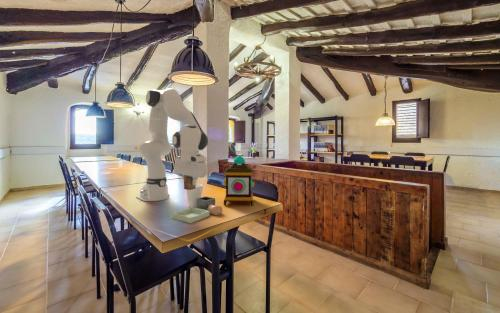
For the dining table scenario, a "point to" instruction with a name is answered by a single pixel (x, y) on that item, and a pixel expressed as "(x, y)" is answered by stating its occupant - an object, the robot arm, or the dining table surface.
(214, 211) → the potato
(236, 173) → the decorative lantern
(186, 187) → the walnut block
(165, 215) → the dining table surface
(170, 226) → the dining table surface
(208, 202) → the dark grey square bin
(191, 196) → the foam cup
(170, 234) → the dining table surface
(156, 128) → the robot arm
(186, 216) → the pale green tray
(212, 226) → the dining table surface
